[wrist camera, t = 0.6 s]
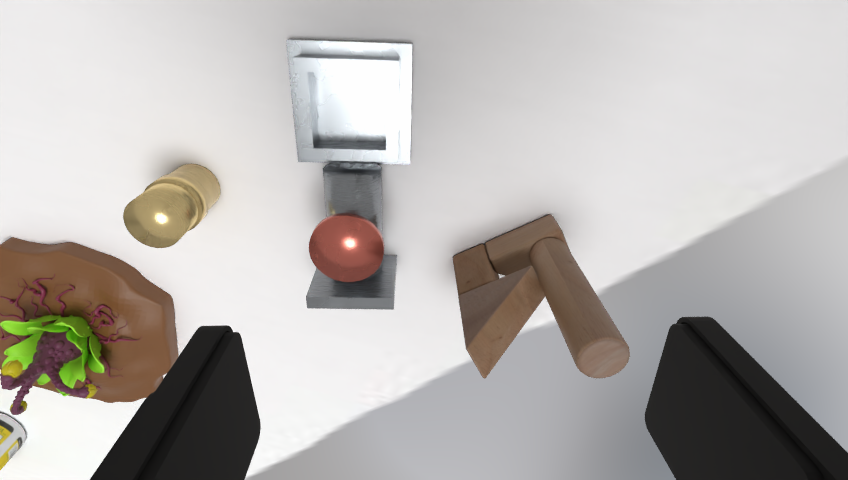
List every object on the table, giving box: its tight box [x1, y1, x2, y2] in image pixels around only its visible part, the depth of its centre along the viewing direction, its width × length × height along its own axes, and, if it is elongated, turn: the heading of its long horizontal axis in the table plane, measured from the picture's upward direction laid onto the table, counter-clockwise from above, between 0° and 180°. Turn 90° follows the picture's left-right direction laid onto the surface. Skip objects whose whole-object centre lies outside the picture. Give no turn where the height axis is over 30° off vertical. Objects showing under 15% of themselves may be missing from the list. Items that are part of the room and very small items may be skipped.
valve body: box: [286, 39, 412, 309], centre depth 39 cm, size 21×10×8 cm, turn 178°
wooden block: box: [453, 215, 630, 378], centre depth 39 cm, size 4×11×18 cm, turn 116°
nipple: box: [123, 164, 220, 248], centre depth 39 cm, size 5×5×8 cm
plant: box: [0, 237, 178, 415], centre depth 45 cm, size 20×20×11 cm
